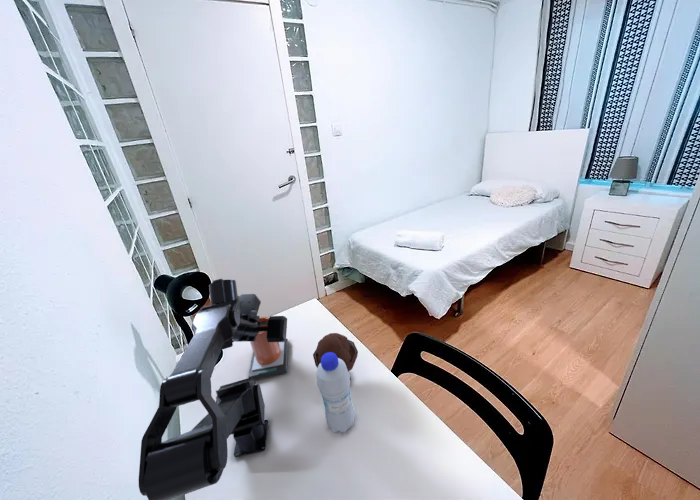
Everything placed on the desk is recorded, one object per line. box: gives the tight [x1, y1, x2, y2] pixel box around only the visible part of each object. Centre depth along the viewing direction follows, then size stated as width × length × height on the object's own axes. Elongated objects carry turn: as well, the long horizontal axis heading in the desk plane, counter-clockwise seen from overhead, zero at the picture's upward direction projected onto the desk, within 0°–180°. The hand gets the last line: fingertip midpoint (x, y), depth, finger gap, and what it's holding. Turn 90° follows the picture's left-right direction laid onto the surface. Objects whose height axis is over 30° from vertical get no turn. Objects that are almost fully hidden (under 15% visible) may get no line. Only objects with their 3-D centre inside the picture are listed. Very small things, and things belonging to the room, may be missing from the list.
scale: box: [247, 338, 289, 381], centre depth 80 cm, size 12×10×2 cm
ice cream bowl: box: [312, 332, 359, 381], centre depth 69 cm, size 11×11×15 cm
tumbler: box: [249, 316, 281, 365], centre depth 78 cm, size 7×7×11 cm
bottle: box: [316, 352, 355, 434], centre depth 58 cm, size 7×7×20 cm
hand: (264, 331), depth 78 cm, fingers open, 9 cm apart
